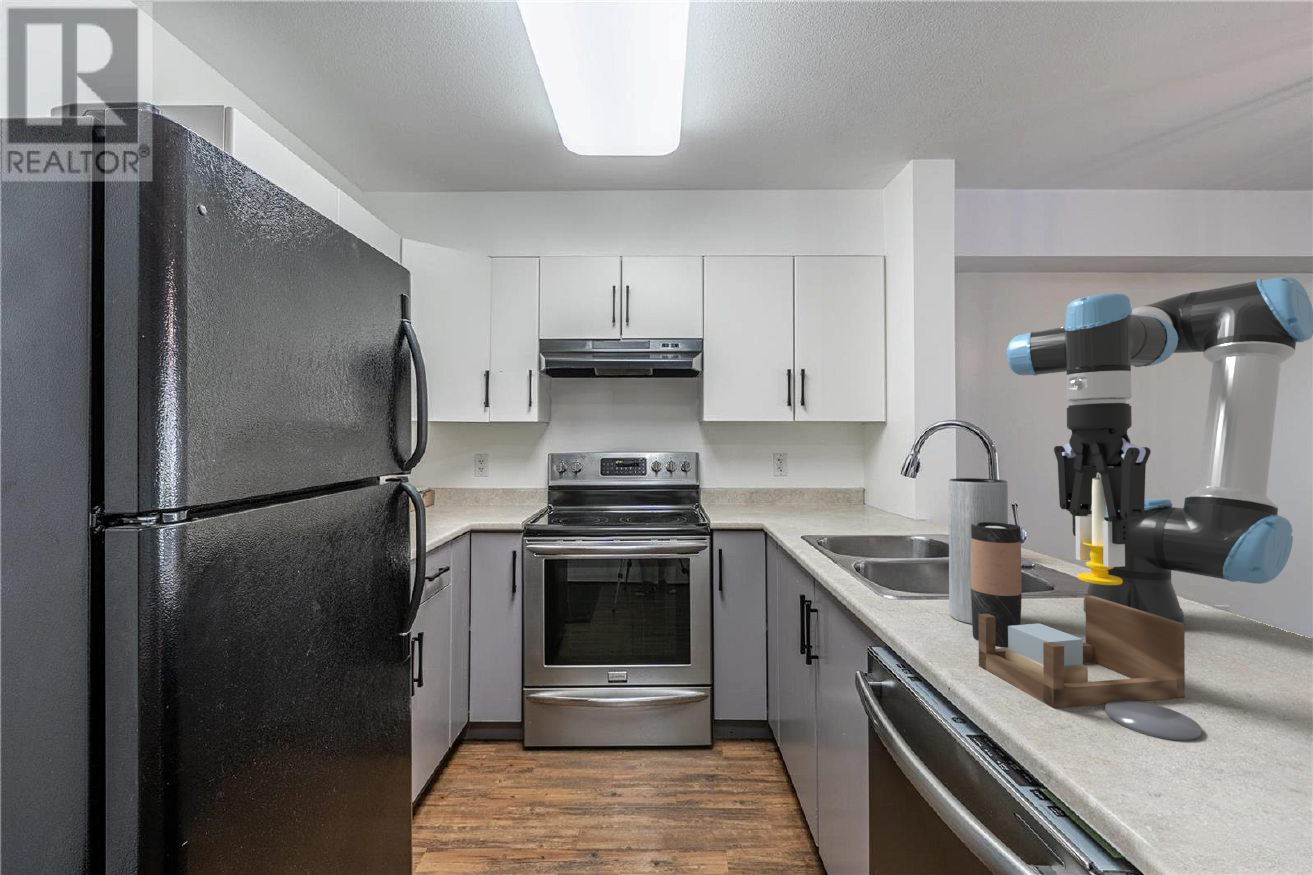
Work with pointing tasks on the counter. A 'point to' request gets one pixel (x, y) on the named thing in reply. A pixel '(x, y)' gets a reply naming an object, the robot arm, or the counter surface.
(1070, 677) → the offcut lower
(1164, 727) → the disc
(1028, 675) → the frame
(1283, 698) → the counter surface
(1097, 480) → the candle
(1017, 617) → the travel mug
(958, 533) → the vase
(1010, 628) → the offcut upper
